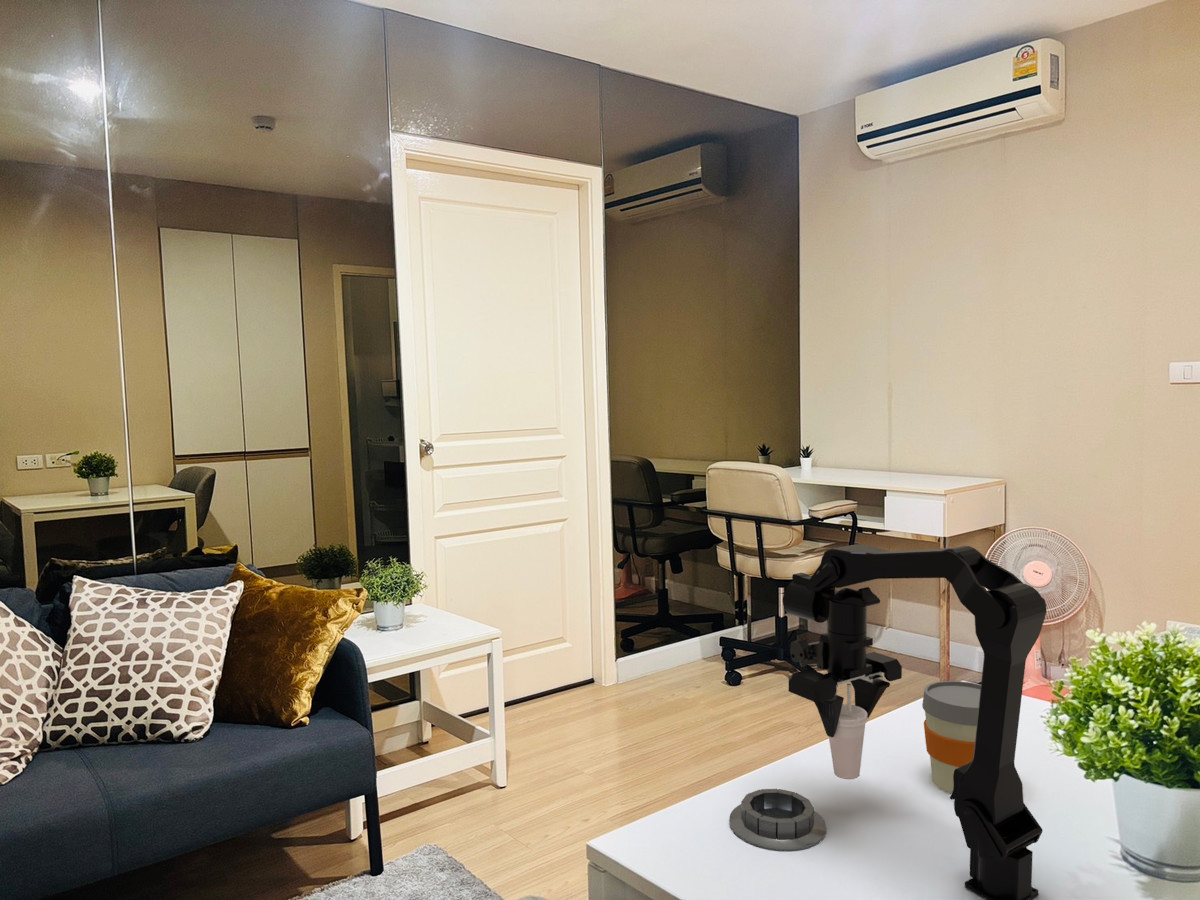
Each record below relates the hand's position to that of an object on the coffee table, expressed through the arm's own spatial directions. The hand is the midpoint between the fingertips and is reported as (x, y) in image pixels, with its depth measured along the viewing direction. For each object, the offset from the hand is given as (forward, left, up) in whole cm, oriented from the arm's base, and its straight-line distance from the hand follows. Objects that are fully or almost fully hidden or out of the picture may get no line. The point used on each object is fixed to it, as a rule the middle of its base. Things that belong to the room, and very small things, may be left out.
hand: (845, 731), depth 131 cm
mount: (+3, +11, -13) cm, 17 cm away
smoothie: (0, 0, -7) cm, 7 cm away
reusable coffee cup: (-4, -23, -13) cm, 27 cm away
